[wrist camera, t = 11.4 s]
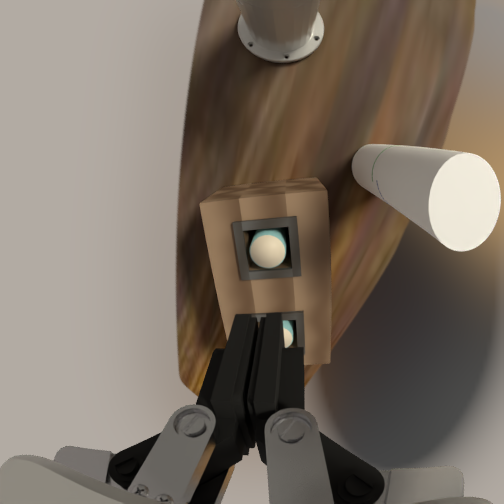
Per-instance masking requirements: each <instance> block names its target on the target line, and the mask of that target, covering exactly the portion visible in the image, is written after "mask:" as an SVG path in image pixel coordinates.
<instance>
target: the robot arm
mask: <svg viewBox="0 0 504 504" xmlns="http://www.w3.org/2000/svg"><path fill="white" fill-rule="evenodd" d="M236 2H237V4H238V6H239V9H240V11H241V15H240V17H239V21H238V33H239V37H240V39H241V41H242V43H243V44H244V46H245V47H246V48H247V49H248V50H249V51H250V52H251V53H252V54H254V55H255V56H257V57H259V58H261V59H264V60H267V61H271V62H277V63H290V62H294V61H298V60H301V59H304V58H306V57H307V56H309V55H311V54H312V53H313V52H314V51H315V50H316V49H317V48H318V47H319V45H320V44H321V41H322V39H323V35H324V24H323V20H322V18H321V16H320V14H319V12H318V7H319V3H320V0H236ZM314 39H317V40H318V41H316V40H314ZM250 45H253V46H252V47H250ZM285 57H288V59H285ZM255 443H257V447H258V450H259V454H260V458H261V461H262V462H263V463H264V464H266V465H267V473H268V487H269V501H270V504H492V503H491V502H490V501H488V500H486V499H482V498H476V497H463V496H464V478H463V474H462V472H461V471H460V470H459V469H457V468H456V467H453V466H440V467H428V468H406V469H392V470H391V471H378V470H377V469H376V468H374V467H373V466H371V465H369V464H368V463H366V462H364V461H363V460H361V459H360V458H358V457H357V456H355V455H353V454H352V453H350V452H349V451H347V450H345V449H344V448H343V447H341V446H340V445H338V444H337V443H335V442H334V441H332V440H331V439H329V438H328V437H326V436H325V435H324V434H322V433H321V432H320V431H319V429H318V424H317V422H316V419H315V418H314V416H313V415H311V414H310V413H309V412H307V411H305V410H304V347H294V348H285V341H284V329H283V318H282V312H277V313H266V317H261V319H260V325H259V327H258V320H257V317H252V315H251V314H235V317H234V320H233V324H232V327H231V331H230V334H229V337H228V341H227V344H226V348H225V349H215V350H214V352H213V354H212V357H211V360H210V363H209V366H208V369H207V372H206V375H205V378H204V381H203V384H202V387H201V390H200V393H199V396H198V399H197V402H196V405H187V406H185V407H182V408H180V409H178V410H177V411H176V412H174V414H173V415H172V416H171V417H170V419H169V421H168V422H167V424H166V426H165V428H164V429H163V431H162V432H161V433H159V434H157V435H155V436H153V437H151V438H149V439H147V440H145V441H142V442H140V443H138V444H136V445H134V446H131V447H129V448H127V449H125V450H123V451H120V452H119V453H117V454H113V453H112V452H111V451H102V450H94V449H86V448H80V447H73V446H65V447H63V448H61V449H60V450H59V451H58V452H57V454H56V456H55V459H54V461H52V460H49V459H47V458H43V457H39V456H33V455H19V456H14V457H12V458H10V459H8V460H7V461H6V462H5V463H4V464H3V465H2V466H1V468H0V504H221V501H222V499H223V496H224V494H225V491H226V489H227V486H228V483H229V481H230V479H231V476H232V474H233V471H234V468H235V464H236V463H238V462H239V461H241V460H242V456H243V455H248V454H249V448H254V447H255Z"/></svg>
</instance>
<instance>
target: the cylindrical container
mask: <svg viewBox="0 0 504 504" xmlns="http://www.w3.org/2000/svg"><path fill="white" fill-rule="evenodd" d="M352 173H353V176H354V178H355V180H356V181H357V183H358V184H359V185H360V186H362V187H363V188H365V189H366V190H368V191H369V192H371V193H372V194H374V195H375V196H377V197H378V198H380V199H382V200H383V201H385V202H386V203H388V204H389V205H391V206H392V207H393V208H395V209H396V210H398V211H399V212H401V213H402V214H403V215H405V216H406V217H408V218H409V219H410V220H412V221H413V222H414V223H416V224H417V225H419V226H420V227H421V228H423V229H424V230H425V231H427V232H428V233H429V234H431V235H432V236H433V237H435V238H436V239H437V240H439V241H440V242H441V243H442V244H444V245H445V246H446V247H448V248H450V249H452V250H455V251H468V250H470V249H474V248H475V247H477V246H479V245H480V244H481V243H482V242H484V241H485V240H486V239H487V237H488V236H489V235H490V233H491V232H492V230H493V228H494V226H495V224H496V221H497V219H498V216H499V211H500V202H501V196H500V187H499V183H498V180H497V177H496V175H495V173H494V171H493V169H492V168H491V166H490V165H489V164H488V163H487V162H486V161H485V160H484V159H483V158H481V157H480V156H477V155H475V154H472V153H466V152H459V151H451V150H443V149H434V148H425V147H414V146H401V145H385V144H369V145H365V146H363V147H361V148H360V149H359V150H358V151H357V152H356V154H355V155H354V157H353V160H352Z"/></svg>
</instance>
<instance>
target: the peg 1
mask: <svg viewBox="0 0 504 504" xmlns="http://www.w3.org/2000/svg"><path fill="white" fill-rule="evenodd" d="M286 235H287V227H279V228H268V229H257V230H256V232H255V234H254V237H253V240H252V243H251V245H250V256H251V258H252V260H253V261H254V263H255V264H257V265H258V266H260V267H263V268H274V267H276V266H278V265H280V264H281V263H282V262H283V260H284V258H285V255H286Z"/></svg>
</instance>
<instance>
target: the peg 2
mask: <svg viewBox="0 0 504 504" xmlns="http://www.w3.org/2000/svg"><path fill="white" fill-rule="evenodd" d="M283 329H284V341H285V348H287V347H289V346H290V345H291V344H292V342H293V320H285V321H283Z"/></svg>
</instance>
